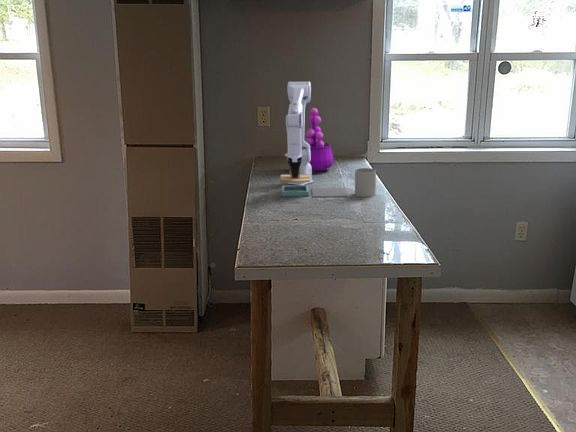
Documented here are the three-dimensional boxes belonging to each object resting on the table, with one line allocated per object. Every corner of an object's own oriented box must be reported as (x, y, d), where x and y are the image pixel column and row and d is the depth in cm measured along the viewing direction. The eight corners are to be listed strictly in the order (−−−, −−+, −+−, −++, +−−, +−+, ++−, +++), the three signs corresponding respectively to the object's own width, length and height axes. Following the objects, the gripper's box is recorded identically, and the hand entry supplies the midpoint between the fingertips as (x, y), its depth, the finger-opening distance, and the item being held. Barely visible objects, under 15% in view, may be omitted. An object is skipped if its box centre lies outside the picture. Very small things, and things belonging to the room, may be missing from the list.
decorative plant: (290, 168, 305) (289, 106, 296) (325, 165, 310) (325, 105, 302) (302, 175, 287) (301, 110, 279) (339, 172, 292) (339, 108, 284)
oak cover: (280, 176, 259) (280, 165, 257) (309, 176, 258) (309, 164, 257) (280, 182, 247) (279, 170, 246) (310, 182, 247) (309, 170, 246)
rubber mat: (311, 189, 261) (311, 188, 261) (344, 188, 261) (344, 187, 261) (312, 197, 247) (312, 196, 247) (347, 196, 247) (347, 195, 247)
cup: (374, 197, 246) (375, 172, 244) (354, 196, 248) (354, 172, 245) (375, 192, 254) (376, 168, 251) (356, 191, 256) (356, 167, 253)
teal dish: (282, 190, 260) (282, 185, 259) (308, 190, 260) (308, 185, 259) (281, 196, 249) (281, 192, 249) (308, 196, 249) (308, 191, 248)
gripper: (285, 140, 256) (285, 172, 259) (284, 146, 242) (285, 180, 246) (302, 140, 256) (302, 172, 259) (302, 146, 242) (302, 180, 245)
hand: (295, 176), depth 252 cm, fingers closed on oak cover, 4 cm apart
